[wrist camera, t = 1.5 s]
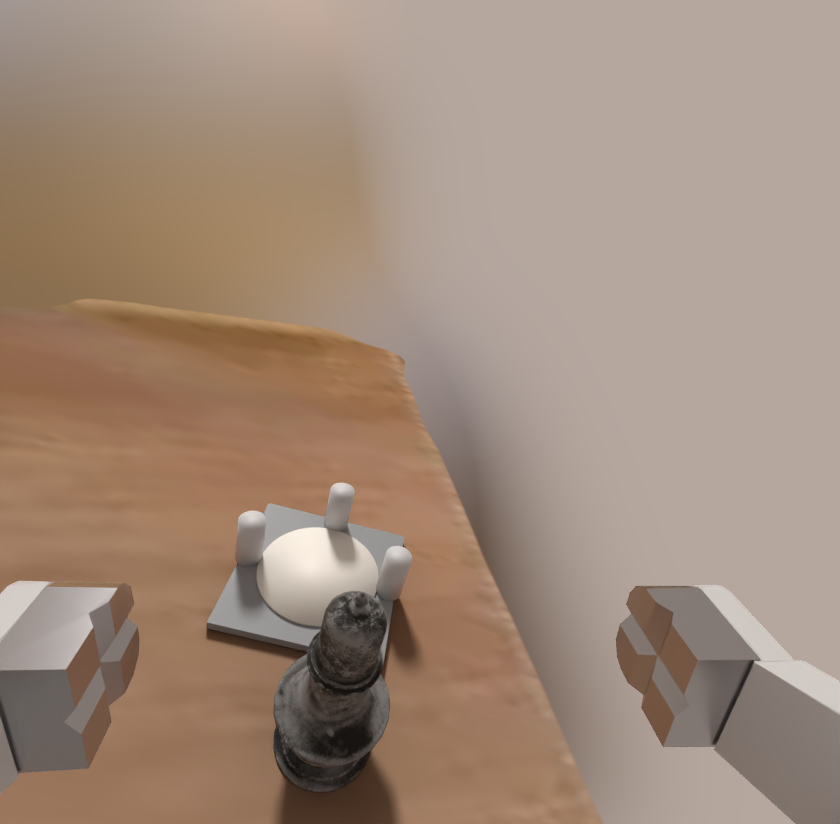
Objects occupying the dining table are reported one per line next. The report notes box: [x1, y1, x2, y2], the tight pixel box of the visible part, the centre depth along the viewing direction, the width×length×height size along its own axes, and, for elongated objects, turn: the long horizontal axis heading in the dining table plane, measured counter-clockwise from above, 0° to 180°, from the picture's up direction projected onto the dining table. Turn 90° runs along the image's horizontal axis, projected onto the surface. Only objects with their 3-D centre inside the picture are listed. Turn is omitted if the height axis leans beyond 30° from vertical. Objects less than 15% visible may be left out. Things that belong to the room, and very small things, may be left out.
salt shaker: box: [274, 591, 390, 793], centre depth 25 cm, size 6×6×12 cm
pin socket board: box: [207, 483, 412, 663], centre depth 36 cm, size 12×11×4 cm
